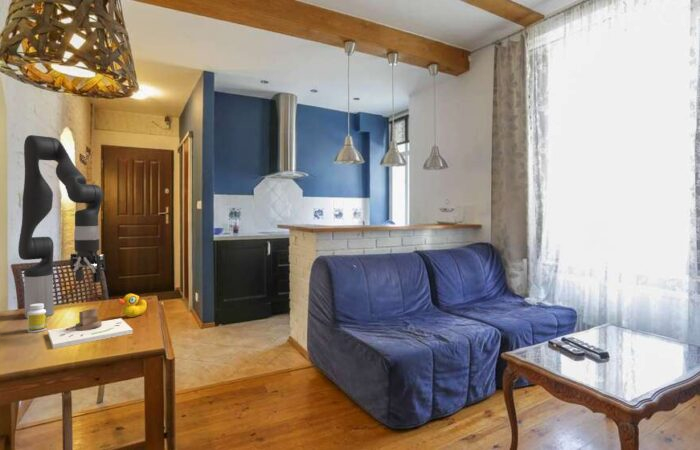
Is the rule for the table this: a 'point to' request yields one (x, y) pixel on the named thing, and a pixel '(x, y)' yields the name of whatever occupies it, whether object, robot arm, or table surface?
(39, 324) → the supplement bottle
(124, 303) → the duckling
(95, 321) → the knob
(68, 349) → the table surface
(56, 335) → the dial board
